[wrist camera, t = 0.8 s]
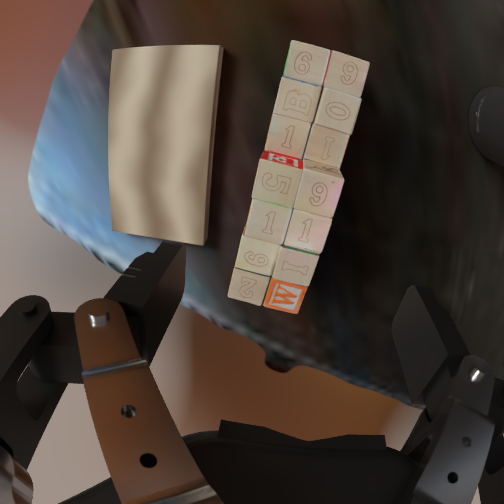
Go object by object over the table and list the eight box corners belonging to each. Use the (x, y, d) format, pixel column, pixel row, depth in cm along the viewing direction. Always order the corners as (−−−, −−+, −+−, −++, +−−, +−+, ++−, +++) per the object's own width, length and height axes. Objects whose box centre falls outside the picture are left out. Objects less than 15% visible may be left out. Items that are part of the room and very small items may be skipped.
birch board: (223, 48, 28) (219, 45, 26) (207, 238, 38) (203, 245, 36) (121, 51, 28) (112, 49, 27) (119, 224, 39) (112, 230, 37)
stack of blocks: (292, 53, 27) (291, 29, 16) (352, 70, 27) (384, 58, 16) (246, 236, 38) (225, 299, 27) (297, 250, 38) (296, 317, 27)
